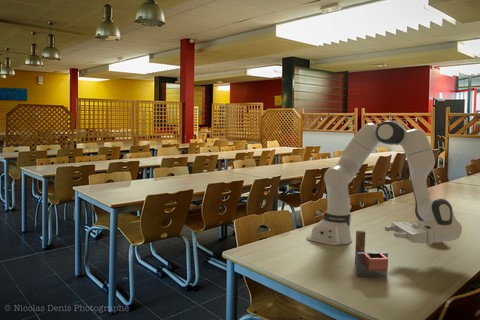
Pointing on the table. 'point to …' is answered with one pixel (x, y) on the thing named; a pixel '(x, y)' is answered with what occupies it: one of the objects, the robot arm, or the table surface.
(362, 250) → the brown cylinder
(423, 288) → the table surface
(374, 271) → the drawer
